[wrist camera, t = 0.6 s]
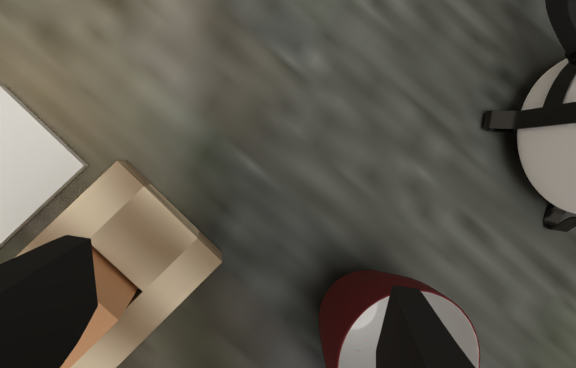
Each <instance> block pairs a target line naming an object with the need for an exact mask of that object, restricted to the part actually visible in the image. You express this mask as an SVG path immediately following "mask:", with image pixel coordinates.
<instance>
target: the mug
mask: <svg viewBox="0 0 576 368" xmlns="http://www.w3.org/2000/svg"><path fill="white" fill-rule="evenodd" d="M392 285H397V286H404V287H410V288H417V289H420V291H421V292H422V293H423V295H424V296H425V298H426V299H427V301H428V302H429V304H430V305H431V306H432V308H433V309H434V311H435V312H436V314H437V315H438V317H439V318H440V320H441V321H442V323H443V324H444V325H445V327H446V328H447V330H448V331H449V333H450V334H451V335H452V337H453V338H454V340H455V341H456V342H457V344H458V345H459V346H460V348H461V349H462V350H463V352H464V353H465V354H466V356H467V357H468V358H469V360H470V361H471V362H472V364H473V365H474V366H475V368H479V367H480V347H479V342H478V338H477V334H476V332H475V329H474V327H473V325H472V323H471V321H470V319H469V318H468V316H467V315H466V314H465V313H464V311H463V310H462V309H461V308H460V307H459V306H458V305H457V304H456V303H454V302H453V301H452V300H450V299H449V298H447V297H446V296H444V295H443V294H441V293H440V292H438V291H437V290H435V289H433V288H431V287H430V286H428V285H426V284H424V283H422V282H420V281H417V280H414V279H412V278H408V277H404V276H400V275H395V274H390V273H385V272H380V271H374V270H361V271H356V272H352V273H349V274H347V275H345V276H343V277H341V278H340V279H339V280H337V281H336V282H335V283H334V284H333V285H332V286H331V287H330V288H329V290H328V291H327V292H326V294H325V296H324V298H323V300H322V303H321V306H320V311H319V331H320V338H321V344H322V350H323V356H324V360H325V365H326V368H376V348H377V344H378V340H379V336H380V332H381V328H382V324H383V320H384V316H385V312H386V308H387V304H388V300H389V296H390V292H391V288H392Z"/></svg>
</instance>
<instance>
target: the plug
mask: <svg viewBox="0 0 576 368" xmlns="http://www.w3.org/2000/svg"><path fill="white" fill-rule="evenodd" d="M92 253H93V262H94V272H95V281H96V290H97V300H98V307H97V309H96V310H95V312H94V314H93V316H92V318H91V320H90V322H89V324H88V326H87V328H86V329H85V331H84V333H83V335H82V336H81V338H80V340H79V342H78V343H77V345H76V346H75V348H74V349H73V350H72V352H71V353H70V355H69V356H68V357H67V359H66V360H65V362H64V363H63V364H62V366H61V367H60V368H70V367H71V366H73V365H74V364H75V363H76V362H77V361H78V360H79V359H80V358H81V357H82V356H83V355H84V354H85V353H86V352H87V351H88V350H89V349H90V348H91V347H92V346H93V345H94V344H95V343H96V342H97V341H98V340H99V339H100V338H101V337H102V336H103V335H104V334H105V333H106V332H107V331H108V330H109V329H110V328H111V327H112V326H113V325H114V324H115V323H116V322H117V321H118V320H119V319H120V317H121V315H122V314H123V312H124V311H125V309H126V307H127V306H128V304H129V302H130V301H131V299H132V297H133V296H134V294H135V293H136V291H137V289H138V287H137V286H136V285H135V284H134V283H133V282H132V281H131V280H129V279H128V278H127V277H126V276H125V275H124V274H123V273H122V272H121V271H120V270H119V269H117V268H116V267H115V266H114V265H113V264H112V263H111V262H110V261H109V260H108V259H107V258H105V257H104V256H103V255H102V254H101V253H100V252H99V251H98V250H97V249H96V248H95V247H93V246H92Z"/></svg>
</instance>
